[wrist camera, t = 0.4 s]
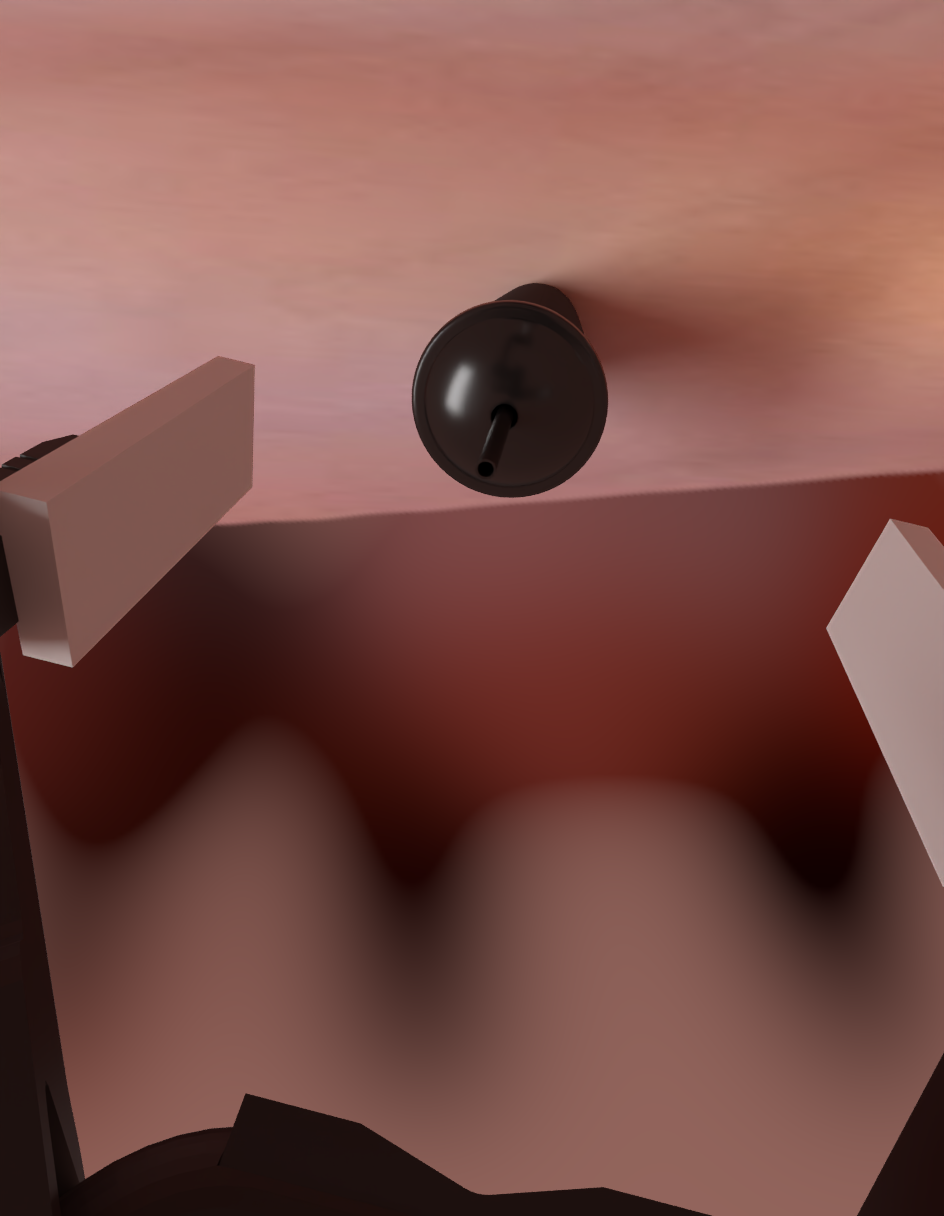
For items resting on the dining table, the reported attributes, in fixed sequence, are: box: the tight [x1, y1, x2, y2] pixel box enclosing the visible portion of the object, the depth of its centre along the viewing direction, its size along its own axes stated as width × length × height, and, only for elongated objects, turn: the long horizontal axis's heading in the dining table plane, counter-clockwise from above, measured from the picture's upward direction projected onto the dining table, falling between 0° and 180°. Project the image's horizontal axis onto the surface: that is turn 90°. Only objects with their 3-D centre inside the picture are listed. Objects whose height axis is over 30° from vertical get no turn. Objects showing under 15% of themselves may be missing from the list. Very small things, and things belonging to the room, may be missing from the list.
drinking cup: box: [412, 283, 608, 498], centre depth 31 cm, size 8×8×20 cm
